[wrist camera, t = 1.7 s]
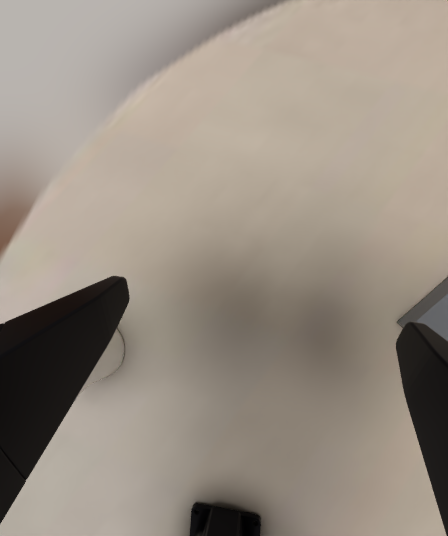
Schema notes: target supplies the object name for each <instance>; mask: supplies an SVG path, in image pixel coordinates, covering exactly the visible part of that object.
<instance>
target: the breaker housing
mask: <svg viewBox="0 0 448 536" xmlns="http://www.w3.org/2000/svg"><path fill="white" fill-rule="evenodd" d="M409 321H412V322H419V323H424V324H426V325H427V326H428V327H430V328H431V329H432V330H434V331H435V332H436V333H438V334H439V335H440V336H441V337H443V338H444V339H445V340H447V341H448V277H447V278H446V279H445V280H444V281H443V282H442V283H441V284H439V285H438V286H437V287H436V288H435V289H434V290H433V291H432V292H430V293H429V294H428V295H427V296H426V297H425V298H424V299H422V300H421V301H420V302H419V303H418V304H417V305H416V306H415V307H413V308H412V309H411V310H410V311H409V312H408V313H407V314H405V315H404V316H403V317H402V318H401V319H400V320H399V321H398V322H397V323H398V324H399V325H400V326H401V327H402V328H404V326H405V324H406V323H407V322H409Z"/></svg>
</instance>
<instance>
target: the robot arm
mask: <svg viewBox="0 0 448 536" xmlns="http://www.w3.org/2000/svg"><path fill="white" fill-rule="evenodd" d="M128 303H129V291H128V285H127V281H126V279H125V278H124V277H119V276H111V277H109V278H107V279H104V280H102V281H100V282H97V283H95V284H93V285H90V286H88V287H86V288H84V289H81V290H79V291H77V292H74V293H72V294H70V295H67V296H65V297H63V298H60V299H58V300H56V301H53V302H51V303H49V304H46V305H44V306H42V307H39V308H37V309H35V310H32V311H30V312H28V313H25V314H23V315H21V316H18V317H16V318H14V319H11V320H9V321H7V322H5V324H3V323H2V324H0V523H1V522H2V520H3V519H4V517H5V515H6V514H7V512H8V510H9V509H10V507H11V505H12V504H13V502H14V500H15V499H16V497H17V495H18V494H19V492H20V490H21V489H22V487H23V485H24V484H25V482H26V479H27V478H28V477H29V475H30V473H31V472H32V470H33V469H34V467H35V465H36V464H37V462H38V460H39V459H40V457H41V455H42V454H43V452H44V450H45V449H46V447H47V445H48V444H49V442H50V440H51V439H52V437H53V435H54V434H55V432H56V430H57V429H58V427H59V426H60V424H61V422H62V421H63V419H64V417H65V416H66V414H67V412H68V411H69V409H70V407H71V406H72V404H73V402H74V401H75V399H76V397H77V396H78V394H79V392H80V391H81V389H82V387H83V386H84V384H85V383H86V381H87V379H88V378H89V376H90V374H91V373H92V371H93V369H94V368H95V366H96V364H97V363H98V361H99V359H100V358H101V356H102V354H103V353H104V351H105V349H106V348H107V346H108V344H109V343H110V341H111V339H112V337H113V335H114V333H115V331H116V329H117V327H118V324H119V322H120V320H121V318H122V316H123V314H124V311H125V309H126V307H127V305H128ZM396 350H397V356H398V361H399V367H400V373H401V378H402V384H403V389H404V394H405V398H406V402H407V405H408V408H409V412H410V415H411V418H412V422H413V425H414V428H415V432H416V435H417V438H418V442H419V445H420V448H421V452H422V455H423V458H424V462H425V465H426V468H427V471H428V475H429V478H430V481H431V485H432V488H433V491H434V495H435V498H436V501H437V505H438V508H439V511H440V515H441V518H442V521H443V525H444V528H445V531H446V535H447V536H448V341H447V340H445V339H444V338H443V337H441V336H440V335H439V334H438V333H436V332H435V331H434V330H432V329H431V328H430V327H428V326H427V325H426V324H424V323H419V322H412V321H409V322H407V323H406V324H405V326H404V328H403V330H402V332H401V333H400V335H399V337H398V339H397V342H396ZM196 509H197V510H199V511H197V510H196ZM254 521H257V522H254ZM260 527H261V518H260V516H258V515H257V514H252V513H247V512H242V511H237V510H231V509H226V508H221V507H215V506H210V505H205V504H199V503H195V504H194V505H193V507H192V511H191V526H190V536H260Z"/></svg>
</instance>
